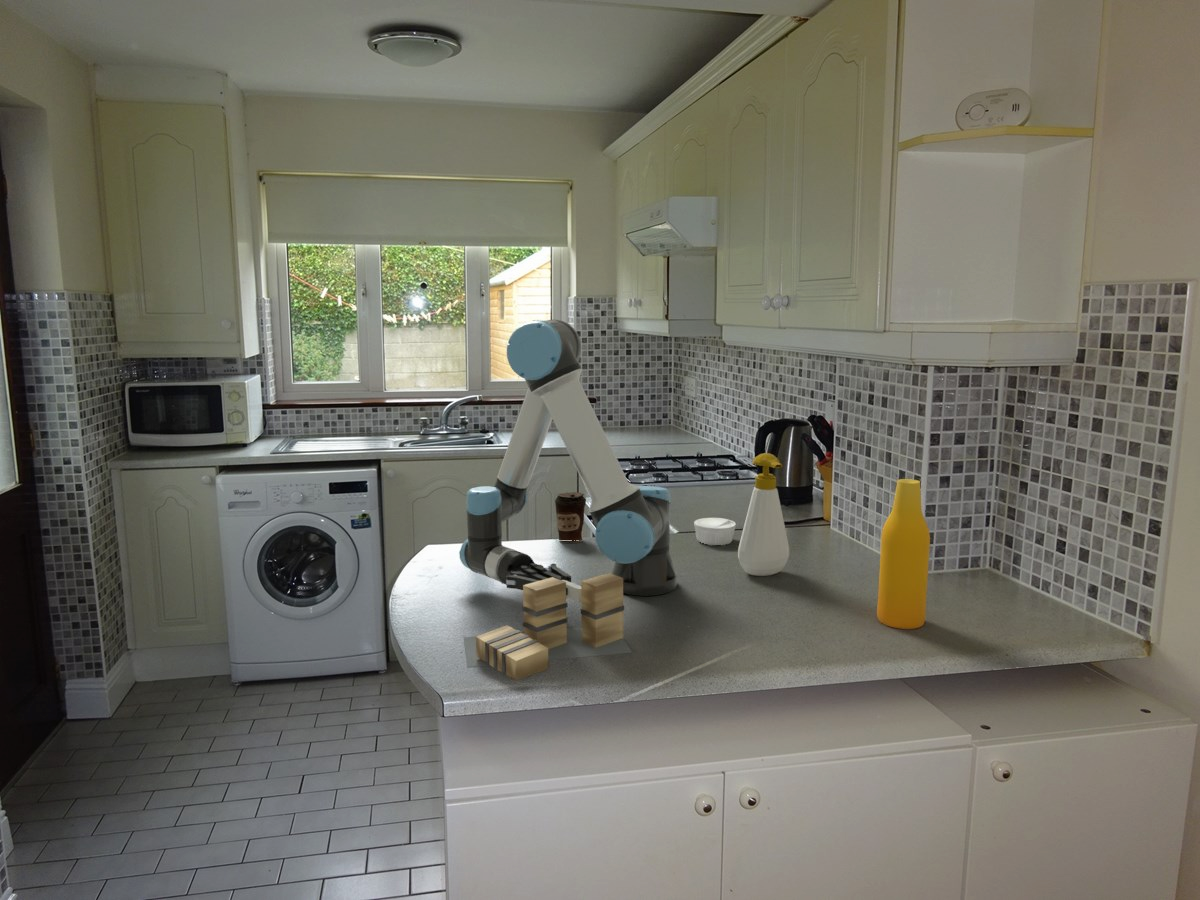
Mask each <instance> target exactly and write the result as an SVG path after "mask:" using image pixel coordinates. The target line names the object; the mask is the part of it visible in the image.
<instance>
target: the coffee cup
mask: <svg viewBox="0 0 1200 900" xmlns="http://www.w3.org/2000/svg"><path fill="white" fill-rule="evenodd" d="M584 494H585V493H581V492H577V491H576V492H574V491H573V492H564V493H563V492H562V493H557V497H556V498H555V500H554V503H555V504H554V505H555V512H556V525H557V533H558V541H559V540H572V541H560V542H561V543H566V544H575V543H581V542H582V541H583V537H582V532H583V527H584V523H585V507H586V503H587V498H586V497H584ZM574 540H575V541H574ZM576 540H579V541H576Z"/></svg>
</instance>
